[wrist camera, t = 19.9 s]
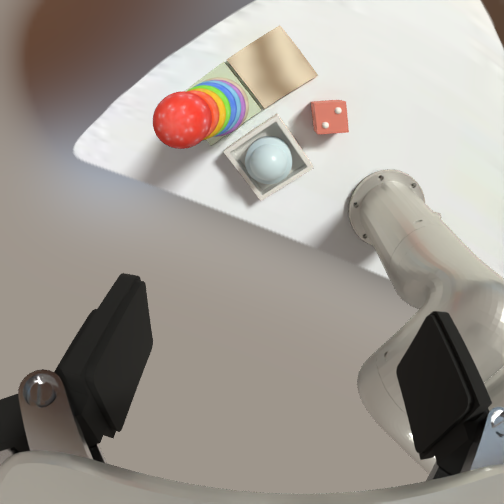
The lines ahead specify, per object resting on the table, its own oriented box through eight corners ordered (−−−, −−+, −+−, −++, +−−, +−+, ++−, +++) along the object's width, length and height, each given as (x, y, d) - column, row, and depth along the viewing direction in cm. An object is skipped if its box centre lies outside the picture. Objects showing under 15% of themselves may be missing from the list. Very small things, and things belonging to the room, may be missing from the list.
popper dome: (274, 127, 39) (274, 133, 35) (299, 163, 41) (302, 173, 37) (238, 151, 41) (233, 160, 37) (263, 185, 43) (262, 199, 39)
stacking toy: (227, 66, 36) (191, 54, 20) (261, 113, 39) (250, 136, 23) (179, 99, 38) (115, 115, 22) (212, 144, 41) (170, 188, 25)
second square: (224, 62, 36) (223, 61, 35) (261, 110, 39) (261, 110, 39) (175, 99, 39) (174, 99, 38) (212, 144, 42) (211, 145, 41)
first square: (279, 26, 33) (279, 25, 32) (317, 75, 36) (317, 75, 35) (227, 60, 36) (226, 59, 35) (264, 108, 39) (264, 108, 38)
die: (339, 99, 38) (346, 101, 34) (342, 127, 39) (349, 132, 36) (310, 101, 38) (314, 103, 34) (313, 129, 40) (318, 134, 36)
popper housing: (277, 113, 39) (277, 115, 37) (311, 163, 43) (313, 168, 40) (226, 147, 42) (223, 151, 40) (261, 194, 46) (260, 201, 43)
